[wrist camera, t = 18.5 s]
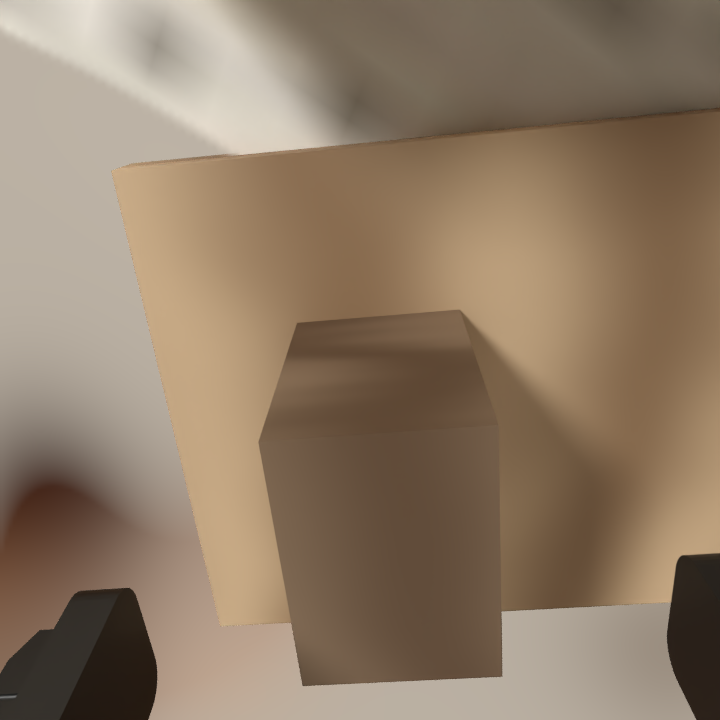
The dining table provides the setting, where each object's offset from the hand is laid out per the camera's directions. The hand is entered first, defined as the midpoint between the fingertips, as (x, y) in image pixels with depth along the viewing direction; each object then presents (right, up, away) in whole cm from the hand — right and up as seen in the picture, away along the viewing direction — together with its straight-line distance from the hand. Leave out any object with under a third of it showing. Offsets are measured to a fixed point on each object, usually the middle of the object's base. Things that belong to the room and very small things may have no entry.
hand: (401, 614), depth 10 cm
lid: (+5, +3, +6) cm, 9 cm away
